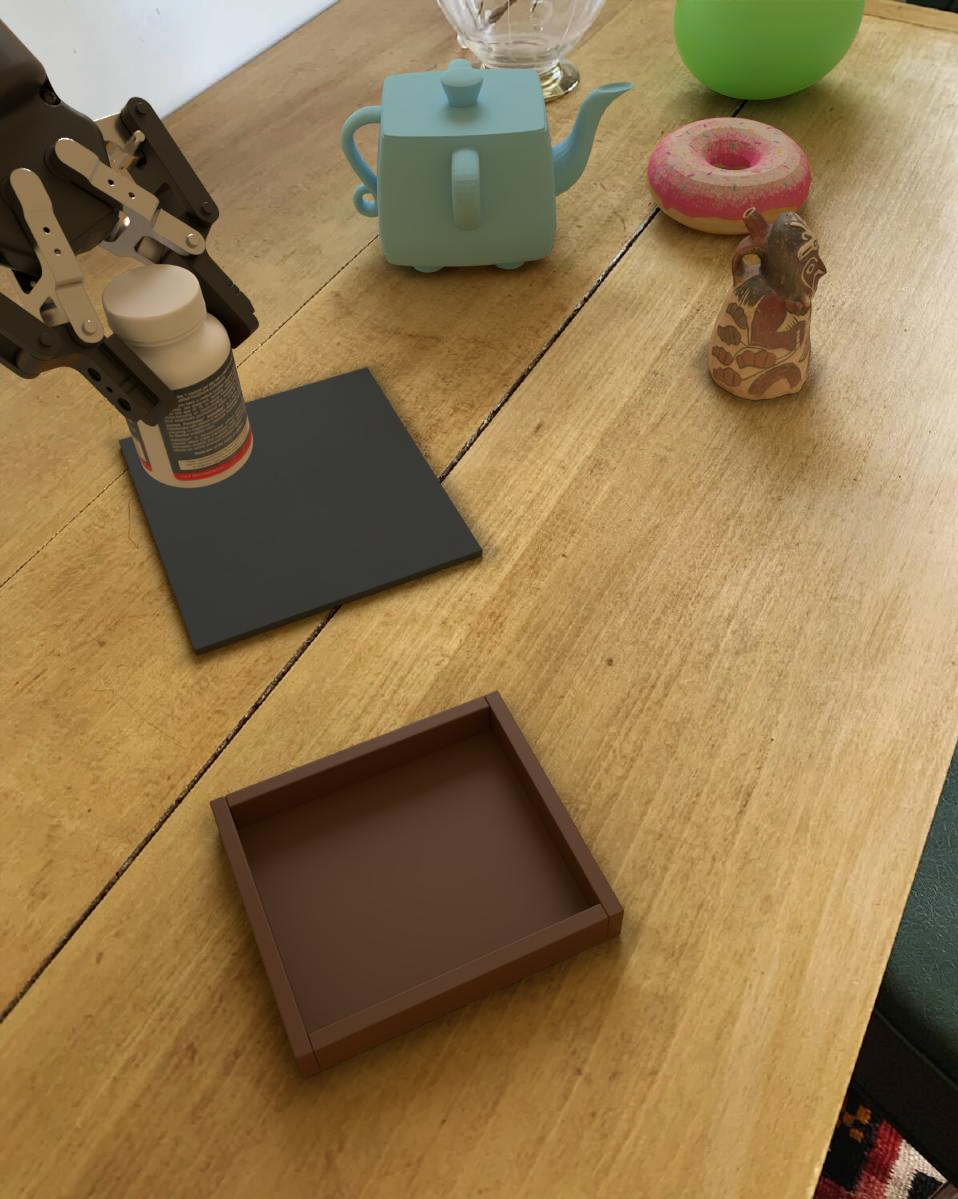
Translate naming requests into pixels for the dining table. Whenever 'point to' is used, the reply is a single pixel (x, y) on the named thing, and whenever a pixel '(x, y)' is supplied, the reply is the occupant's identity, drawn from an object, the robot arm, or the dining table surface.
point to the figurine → (767, 310)
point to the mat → (303, 514)
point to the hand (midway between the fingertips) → (207, 373)
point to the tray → (410, 879)
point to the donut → (727, 174)
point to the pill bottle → (182, 376)
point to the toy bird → (764, 43)
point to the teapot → (469, 165)
